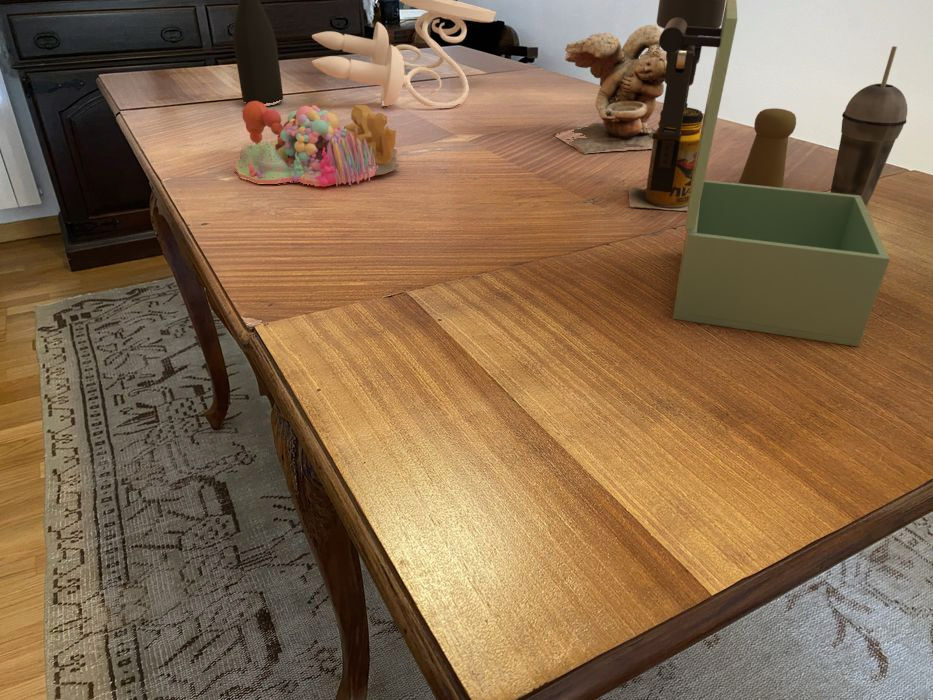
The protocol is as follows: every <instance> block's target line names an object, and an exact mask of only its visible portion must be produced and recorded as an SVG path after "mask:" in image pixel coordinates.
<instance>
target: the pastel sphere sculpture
mask: <svg viewBox="0 0 933 700" xmlns="http://www.w3.org/2000/svg"><path fill="white" fill-rule="evenodd" d="M350 113H351V115H350V119H351V121H352V122H350V123H349V124H346V125H344V127H343V126H342V125H341V124H340V123H341V122H340V120H339V118H338V116H337V114H335V113H334V112H329V111H328V110H325V109H320V108H319V107H318V106H317V105H316V104H311V106H308V105H302V106H300V107H298V109H296V110H292V111H291V112H290V113H289V114H288V116H287V121H286V122H284V124H281V123H282V116H281V114H280V113H279V112H278V110H275V109H269V108H268V107H266V106H265V105H264V104H263V103H261V102H258V101H251V102H248V103H247V104H245V105H244V106H243V108H242V119H243V122H244V124H245V129H246V131H247V133H248V134H249V139H250V141H252V143H250V144H245V145H243V146H242V147H240V148H241V150H240V152H239V155H238V157H237V159H236V160H235V162H234V167H233V170H234V171H235V170H236V171H237V173H238V174H237V173H236V174H237V176H238V175H239V176H240V177H243V178H246V179H249V180H251V181H254V182H256V183H265V184H278V183H283V182H290V181H291V182H290V183H298V182H301V183H303V184H302V185H304V184H307V185H306V186H313V185H314V186H313V187H322V188H324V187H328V186H329V187H330V186H332V185H333V186H334V185H335V186H336V187H338V185H341V184H343V185H346V184H347V183H348V186H349V185H351V186H352V184H354V183H357V185H359V184H360V181H363V180H364V181H367V179H368V182H369V181H370V182H371V178H373V177H374V176H380V175H385V174H388V173H391V172H393V171H396V169H397V168H399V167H400V164H399V163H397V162H395V161H394V160H393V158H394V157H395V156H396V155H397V154H398V149H396V148H395V146H396V138H397V135H396V134H397V130H395V129H390V128H389V126H388V125H387V124H388V116H387V115H385V114H384V113H383V112H382V113H381V112H378V113H376V114H374V112H373V111H372V109H371V108H370V107H369V106H367V105H366V104H353V106H352V110H351V112H350ZM265 127H268V128H269V129H270V131H271V132H272V133H273V134H274V135H275V136H276V135H277V140H276V141H273V142H268V141H262V140H263V134H262V133H263V132H264V130H265ZM253 143H254V144H253ZM235 164H236V165H235ZM239 176H238V177H239ZM293 181H294V182H293ZM357 181H358V182H357ZM301 183H300V184H301ZM283 184H284V183H283ZM309 184H310V185H309ZM278 185H279V184H278Z"/></svg>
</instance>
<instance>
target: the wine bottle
mask: <svg viewBox="0 0 933 700" xmlns="http://www.w3.org/2000/svg"><path fill="white" fill-rule="evenodd" d="M237 4H238V5H237V10H236V15H235V18H234V19H235V20H234V24H233V48H234V54H235V58H236V59H235V60H236V66H237V74H238V79H239V80H238V81H239V86H240V92H241V97H242V101H243V103H244V102H246V103H248V102H251V101H258V102H261V103H263V104H266V103H273V102H276V101H279V100H282V99H283V100H284V92H283V85H282V75H281V69H280V60H279V52H278V43H277V39H276V35H275V32H274V29H273V26H272V24H271V22H270V20H269V18H268V16H267V14H266V12H265V10H264V7H263V5H262V3H261V0H238V3H237ZM283 100H282V101H283Z"/></svg>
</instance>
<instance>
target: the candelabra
mask: <svg viewBox="0 0 933 700" xmlns="http://www.w3.org/2000/svg"><path fill="white" fill-rule="evenodd" d="M398 1H399V2H400V3H401V4H404V5H405V6H408V7H412V8H414V9H418V10H421V11H425V12H424V13H422V14H421V15H420V16H418V17H417V19H416V20H415V23H414V29H415V32H416V33H417V34H418V35H419V37H421V39H423V40H424V41H425V43H426V44H427V45H428V47H429V48H430V49H432V51H433V52H434V53H435V54H437V56H439V59H438V60H437V61H435V62H433V63H426V64H419V63H418V64H417V63H411V62H417V61H419V60H420V59H421V57H422V53H421V50H420V49H419V48H418V47H416V46H414V45H410V44H404V43H403V44H398V45H393V44H390V39H389V33H388V31H387V29H386V27H385V26H384V25H383V24H382V23H381V22H379V21H377V22H376V23H375V26H374V29H373V37H372V39H371V38H366V37H361V36H358V35H357V36H356V35H352V34H347V33H344V34H343V33H340V32H337V31H331V30H329V31H321V32H317V33H314V34H312V35H311V38H312V39H313V40H314V41H315V42H317V43H319V44H320V45H321V46H323V47H325V48H327V49H330V50H334V51H341V50H342V52H344V53H350V54H354V55H359V56H365V57H370V62H367V61H363V60H358V59H352V58H351V59H350V60H349V59H347V58H346V57H343V56H336V55H330V56H324V57H320V58H316V59H312V60H311V64H312V66H313V67H315V68H316V69H318V70H319V71H321V72H323V73H324V74H326V75H328V76H330V77H333V78H336V79H348V81H353V82H358V83H365V84H370V85H374V86H375V85H376V86H381V91H380V92H381V93H380V102H381V101H384V105H383V106H388V105H391V106H393V105H394V104H396V102H397V101H398V99H399V97H400V95H401V93H402V89H403V87H406V89H407V91H408V93H409V94H410V95H411V96H412V97H413V98H414V99H415V100H416V102H419V103H421V104H422V105H424V106H426V107H428V106H450V105H458V104H460V105H461V104H463V103H464V102H465V101H466V100H467V98H468V95H469V92H470V87H469V81H468V78H467V76H466V74H465V73H464V71H463V69H462V68H461V67H460V65H459V64H458V63H457V62H456V61H455V60H454V59H453V58H452V57H451V56H449V54H447V53H446V52H445V51H444V49H443V48H442V47H441V45H439V43H437V42H436V40H434V39H433V38H432V37H431V36H430V35H429V32H428V29H429V28H428V27H429V25H430V23H431V22H432V21H433V22H432V24H431V29H432V31H433V32H434V33H436V34H439V36H440V38H441V39H442V40H443V41H444V42H447V43H451V44H459V43H461V42H463V41H464V40H465V38H466V36H467V31H468V29H467V25H466V22H465V21H471V22H478V23H493V22H494V20H495V16H497V12H496V11H494V10H492V9H488V8H485V7H481V6H478V5H474V4H470V3H466V2H462V1H459V0H398ZM440 18H442V19H444V20H450V21H451V22H453V23H454V24H455V25H454V26H453V27H451V28H442V27H443V26H445V23H446V22H441V23H440ZM463 20H465V21H463ZM438 23H440V24H439V26H438V27H437V26H436V24H438ZM421 24H422V25H421ZM459 30H461V32H460V34H459V35H458V36H450V35H453V34H455V33H457V32H458V31H459ZM403 50H404V51H411V52H414V53H415V54H417V56H415V57H410V58H409V61H410V62H407V61H404V58H403V54H402V52H401V51H403ZM444 62H446V63H447V65H449V66H450V67H451V68H452V69H453V70H454V72H455V73H456V74H457V75H458V77H459V80H460V81H461V84H462V88H463V90H462V93H461V95H460V96H459V97H458V98H456V99H454V100H452V101H449V102H448V101H447V102H437V101H433V100H430V99H429V98H426V97H424V96H423V95H421V94H420V93H418V92H417V91H416V90H415V88H414V87H413V86H412V83H411V80H412V78H413V76H415V75H416V74H419V73H424V74H428V75H430V76H432V77H433V78H435V80H437V81H436V82H437V83H438V87H437V88H436V89H431V90H430V94H436V93H438V92H439V91H440V89H441V87H442V79H441V77H440V75H439V74H438V73H437V72H436V71H435V70H433V69H436V68H438V67H440V66H442V65H443V64H444ZM406 67H417V68H414V69H410V71H408V72H407V74H405V68H406ZM429 68H433V69H429ZM392 104H393V105H392ZM458 106H459V105H458ZM388 107H389V106H388Z"/></svg>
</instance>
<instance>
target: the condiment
mask: <svg viewBox="0 0 933 700" xmlns="http://www.w3.org/2000/svg"><path fill="white" fill-rule="evenodd" d="M659 114H660V117H659V120H658V124H657V125H658V127H657V129H655V130H656V131H655V133H658V131H659V129H660V122H661V116H662V110H660V113H659ZM703 118H704V114H703V112H702V110H699V109H697V108H693V107H690V106H689V107H688V106H687V107H685V109H684V114H683V120H682V126H681V140H680V146H679V152H678V158H677V164H676V170H675V176H674V182H673V188H672V193H671V192H662V191H652V190H650V186H651V180H652V173H653V166H654V159H655V153H656V146H657V140H654V139H653V146H652V150H651V154H650V160H649V167H648V173H647V181H646V188H640V187H639V188H638V187H628V188H627V190H628V192H627V193H628V201H629V207H630V208H642V209H644V208H645V209H658V210H665V211H680V212H681V211H682V212H687V208H688V202H689V195H690V188H691V182H692V175H693V169H694V164H695V159H696V154H697V149H698V144H699V139H700V134H701V128H702V123H703ZM665 128H667V129H676V128H673V127H665Z"/></svg>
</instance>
